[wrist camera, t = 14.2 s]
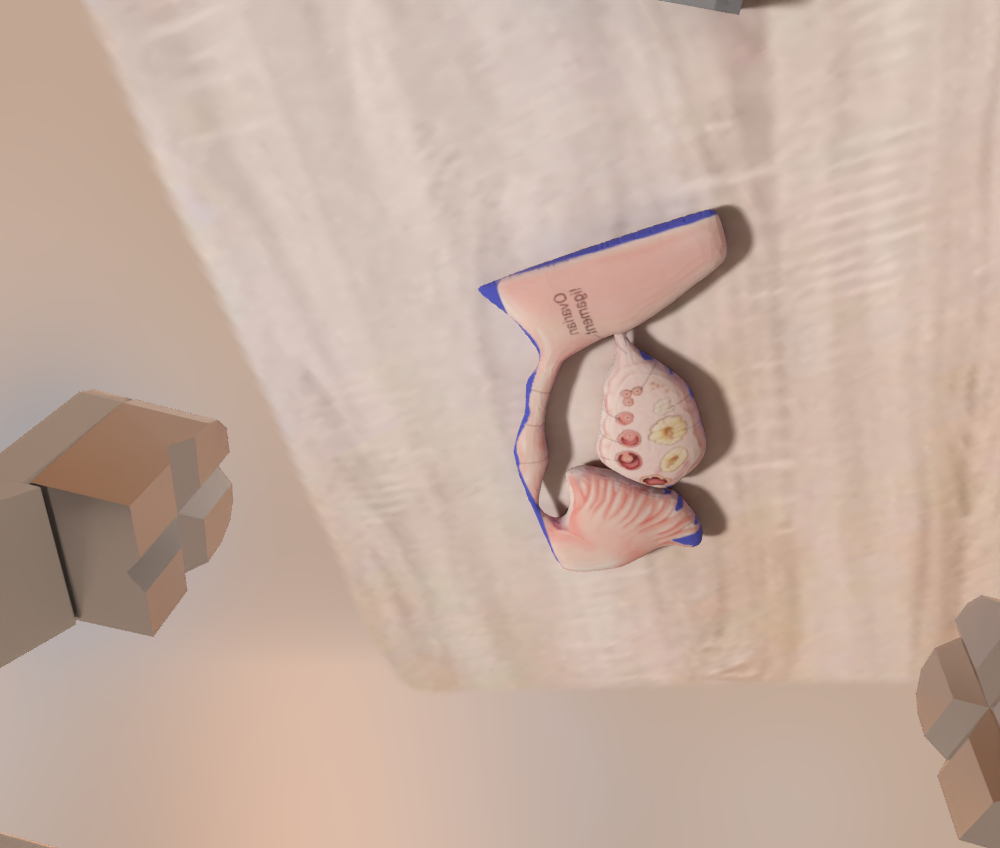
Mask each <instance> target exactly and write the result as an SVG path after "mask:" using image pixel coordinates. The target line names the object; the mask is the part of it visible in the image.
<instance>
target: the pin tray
mask: <svg viewBox="0 0 1000 848" xmlns="http://www.w3.org/2000/svg"><path fill="white" fill-rule="evenodd" d="M660 1H666V2H671V3H677V4H682V5H688V6H693V7H699V8H704V9H710V10H715V11H721V12H726V13H732V14H738V15H739V13H740V10H741V6H742V3H743V0H660Z"/></svg>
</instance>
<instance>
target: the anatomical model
mask: <svg viewBox="0 0 1000 848" xmlns="http://www.w3.org/2000/svg"><path fill="white" fill-rule="evenodd" d="M726 255H727V243H726V238H725V234H724V229H723V226H722V223H721V221H720V218H719V215H718V214H717V213H716V212H715V211H714V210H705V211H702V212H698V213H696V214H691V215H687V216H686V217H680V218H678V219H674V220H672V221H669V222H665V223H662V224H658V225H655V226H653V227H650V228H646V229H643V230H639V231H637V232H635V233H630V234H627V235H624V236H622V237H620V238H615V239H612V240H610V241H606V242H605V243H601V244H598V245H594V246H591V247H588V248H585V249H582V250H579V251H577V252H574V253H571V254H568V255H565V256H562V257H559V258H557V259H554V260H552V261H547V262H544V263H543V264H538V265H536V266H533V267H530V268H527V269H525V270H523V271H519V272H516V273H514V274H511V275H509V276H506V277H504V278H502V279H499V280H496V281H493V282H491V283H488V284H486V285H483V286H481V287H480V288H479V289H478V290H479V291H480V292H481V294H482V295H483V296H485V297H486V298H488V299H489V300H490V301H491V302H492V303H494V304H496V305H497V306H498V307H499V308H500V309H502V310H503V311H504V312H505V313H506V314H508V315H510V316H511V317H512V318H513V319H514V320H515V321H516V322H517V323H518V325H519V326H520V327H521V328H522V330H523V331H524V332H525V334H526V335H527V336H528V337H529V338H530V340H531V341H532V343H533V344H534V345H535V347H536V348H537V350H538V352H539V364H538V366H537V368H536V369H535V371H534V372H533V373H532V375H531V376H530V378H529V379H528V382H527V384H526V409H525V415H524V418H523V420H522V423H521V426H520V428H519V431H518V435H517V438H516V442H515V447H514V455H515V459H516V464H517V467H518V471H519V476H520V478H521V481H522V483H523V485H524V487H525V490H526V493H527V496H528V499H529V501H530V503H531V505H532V507H533V509H534V511H535V514H536V516H537V518H538V521H539V523H540V525H541V528H542V530H543V532H544V535H545V536H546V538H547V540H548V543H549V545H550V547H551V550H552V552H553V554H554V556H555V558H556V559H557V561H558V562H559V563H560V564H561V566H562V567H563V568H564V569H566V570H570V571H581V572H586V571H597V570H605V569H611V568H617V567H621V566H624V565H626V564H628V563H631V562H633V561H635V560H636V559H638V558H640V557H642V556H644V555H646V554H648V553H650V552H651V551H653V550H655V549H657V548H660V547H663V546H667V545H678V546H683V547H694V546H697V545H699V544H700V542H701V540H702V534H703V533H702V528H701V524H700V521H699V519H698V518H697V517H696V515H695V513H694V512H693V510H692V509H691V508H690V506H689V505H688V504H687V502H686V501H685V500H684V499H683V498H682V497H681V496H680V495H679V494H678V493H677V492H675V491H673V490H671V489H667V488H665V487H671V486H672V485H674V484H676V483H677V482H678V481H679V480H681V479H682V478H683V477H685V476H686V475H687V474H689V473H690V472H691V471H692V470H693V469H694V468H695V467H696V466H697V465H698V464H699V463H700V462H701V460H702V459H703V456H704V455H705V451H706V437H705V433H704V429H703V426H702V422H701V418H700V415H699V412H698V408H697V405H696V402H695V400H694V397H693V394H692V391H691V389H690V387H689V386H688V385H687V384H686V382H685V381H684V380H683V379H682V378H680V377H679V376H678V375H677V374H676V373H675V372H673V371H672V370H671V369H669V368H668V367H667V366H665V365H663V364H662V363H660V362H659V361H657V360H656V359H654V358H653V357H651V356H649V355H647V354H646V353H645V352H642V351H640V350H639V349H638V348H637V347H635V346H634V345H633V344H632V343H631V342H630V341H629V340H628V338H627V337H626V331H628V330H631V329H633V328H634V327H636V326H639V325H640V324H642V323H643V322H645V321H646V320H648V319H650V318H651V317H653V316H654V315H656V314H657V313H658V312H660V311H661V310H662V309H664V308H665V307H667V306H668V305H670V304H671V303H672V302H674V301H675V300H676V299H678V298H679V297H680V296H681V295H683V294H684V293H685V292H686V291H688V290H689V289H690V288H691V287H693V286H694V285H695V284H696V283H697V282H699V281H701V280H702V279H704V278H705V277H706V276H707V275H709V274H710V273H711V272H713V271H714V270H715V269H716V268H717V267H718V266H719V265H720V264H722V263H723V262H724V260H725V258H726ZM613 334H614V337H615V342H616V355H615V359H614V362H613V364H612V366H611V368H610V369H609V372H608V374H607V375H606V377H605V380H604V383H603V393H604V399H603V406H602V411H601V420H600V421H601V424H600V432H599V435H598V438H597V442H596V450H597V455H598V456H599V458H600V460H601V461H602V462H603V463H604V464H605V465H606V466H608V467H609V468H611V469H612V470H610V469H605V468H600V467H594V466H586V465H582V466H576V467H574V468H571V469H570V470H569V471H567V473H566V479H567V484H568V489H569V493H570V504H569V508H568V511H567V513H566V514H565V515H564V516H562V517H557V518H555V517H551V516H549V515H547V514H546V513H544V512H543V511H542V509H541V508H540V507H539V493H540V489H541V484H542V480H543V477H544V473H545V470H546V467H547V465H548V461H549V458H548V449H547V443H546V438H545V431H544V420H545V414H546V408H547V404H548V400H549V396H550V393H551V390H552V388H553V385H554V383H555V380H556V377H557V375H558V372H559V370H560V367H561V365H562V363H563V362H564V360H566V359H567V358H568V357H570V356H571V355H573V354H575V353H577V352H579V351H580V350H582V349H584V348H586V347H588V346H589V345H591V344H592V343H594V342H596V341H598V340H600V339H603V338H606V337H608V336H611V335H613Z"/></svg>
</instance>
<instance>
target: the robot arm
mask: <svg viewBox="0 0 1000 848" xmlns="http://www.w3.org/2000/svg"><path fill="white" fill-rule="evenodd" d="M228 453H229V444H228V436H227V428H226V427H225V426H224V425H223V424H222V423H221V422H220V421H218V420H215V419H211V418H207V417H203V416H199V415H196V414H192V413H187V412H184V411H180V410H176V409H172V408H168V407H164V406H160V405H156V404H152V403H148V402H144V401H140V400H132V399H129V398H126V397H122V396H118V395H114V394H110V393H105V392H101V391H97V390H89V391H83V392H79V393H78V394H76V395H75V396H74V397H72V398H71V399H70V400H69V401H67V402H66V403H65V404H63V405H62V406H61V407H59V408H58V409H57V410H56V411H54V412H53V413H52V414H51V415H49V416H48V417H47V418H45V419H44V420H43V421H41V422H40V423H39V424H37V425H36V426H35V427H33V428H32V429H31V430H30V431H28V432H27V433H26V434H24V435H23V436H22V437H21V438H19V439H18V440H17V441H15V442H14V443H13V444H12V445H10V446H9V447H8V448H7V449H5V450H4V451H2V452H1V453H0V668H1V667H2V666H4V665H6V664H8V663H10V662H11V661H13V660H15V659H16V658H18V657H20V656H22V655H23V654H25V653H27V652H29V651H30V650H32V649H34V648H36V647H37V646H39V645H40V644H42V643H44V642H46V641H48V640H49V639H51V638H53V637H55V636H56V635H58V634H60V633H62V632H63V631H65V630H67V629H69V628H70V627H72V626H74V625H75V624H76V620H80V621H84V622H89V623H94V624H98V625H103V626H107V627H111V628H116V629H121V630H125V631H130V632H134V633H139V634H143V635H148V636H152V637H154V635H155V634H156V633H157V631H158V630H159V629H160V627H161V626H162V624H163V623H164V622H165V620H166V619H167V618H168V616H169V615H170V614H171V612H172V611H173V610H174V608H175V607H176V605H177V604H178V603H179V601H180V600H181V599H182V597H183V596H184V594H185V593H186V592H187V585H186V577H185V573H186V572H187V571H190V570H192V569H194V568H196V567H198V566H200V565H203V564H205V563H207V562H208V561H209V560H210V559H211V557H212V555H213V554H214V553H215V551H216V550H217V548H218V547H219V546H220V544H221V542H222V540H223V537H224V535H225V532H226V529H227V527H228V524H229V522H230V517H231V511H232V504H233V493H232V483H231V482H230V480H229V479H228V477H227V476H226V475H225V473H224V472H223V471H222V470H221V468H220V467H219V466H218V465H219V464H220V463H221V462H222V461H223V459H224V458H225V457H226V456H227V454H228ZM955 622H956V625H957V629H958V633H959V636H960V638H957V639H955V640H953V641H950V642H948V643H946V644H943V645H941V646H939V647H936V648H935V649H934V650H933V652H932V653H931V655H930V656H929V658H928V659H927V661H926V663H925V664H924V666H923V667H922V669H921V673H920V677H919V682H918V687H917V692H916V697H917V710H918V716H919V719H920V723H921V726H922V730H923V733H924V736H925V737H926V738H927V739H928V740H929V741H930V742H931V744H932V745H933V746H934V747H935V748H936V749H937V750H938V751H939V752H940V753H941V754H942V755H943V757H944V758H945V759H946V761H945V762H944V764H943V766H942V768H941V770H940V772H939V774H938V779H939V782H940V785H941V788H942V791H943V794H944V797H945V800H946V803H947V806H948V809H949V812H950V815H951V818H952V821H953V824H954V827H955V830H956V833H957V836H958V839H959V840H962V841H965V842H969V843H973V844H976V845H980V846H983V847H987V848H1000V599H996V598H992V597H987V596H983V595H981V596H979V597H978V598H976V599H974V600H973V601H971V602H969V603H967V605H966V606H965V607H964V609H963V610H962V611H961V613H960V614H959V615H958V617H957V618H956V619H955ZM0 848H56V847H53V846H49V845H45V844H42V843H38V842H35V841H31V840H27V839H24V838H20V837H16V836H13V835H9V834H5V833H2V832H0Z"/></svg>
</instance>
